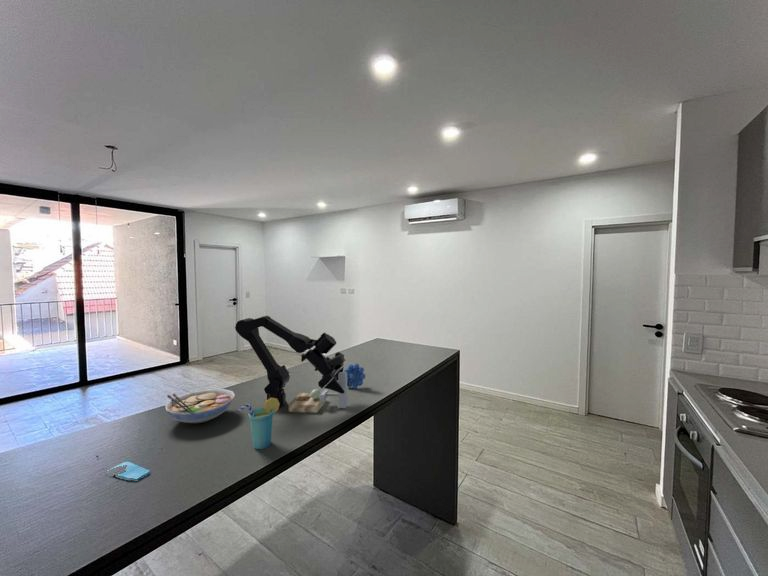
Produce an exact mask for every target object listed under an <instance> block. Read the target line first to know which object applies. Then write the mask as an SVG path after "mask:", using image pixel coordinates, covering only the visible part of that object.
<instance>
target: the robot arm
mask: <svg viewBox="0 0 768 576" xmlns="http://www.w3.org/2000/svg"><path fill="white" fill-rule="evenodd" d="M262 327H263V328H264V329H266V330H267V331H269V332H270V333H273V334H274V335H275V336H277V337H279V338H280V339H282V340H284V341H285V342H286V343H287V344H288V345H289V347H290V348H291V349H292V350H294V351H295V352H296V353H298V354H301V355H300V357H301V359H300V361H301V362H302V363H303V362H304V361H306V360H307V361H308V362H309V363H310V364H311V365H312V366H313V368H314V371H315V372H317V371H318V372H319V374H321V379H320V380H319V381H318V387H319V388H320V390H321V389H326V390H331V391H334V392H335V393H338V392H339V393H342V394H343V393H344V392H345V391H344V390H343V388H342V387H341V386H340V385H339V383H338V374H339V373H340V372H344V365H345V364H344V362H345V361H346V359H345V354H343V353H341V352H340V351H338V352H336V353H335V354H334V356H333V357H331V358H330V357H329V356H327V357H326V356H325V355H327V354H328V353H329V352H330V351H331V350H332V349H333V348H334V347H335V346H336V345H337V340H336V339H335V338H334V337H333V336H331V335H330V334H328V333H327V332H323V333H322V334H321V335H320V336H319V337H318V338H317V339H312V338H310V337H309V336H307V335H304V334H302V333H297V332H295V331H292V330H291V329H289V328H288V327H286V326H284V325H283V324H281V323H280V322H278V321H276V320H275V319H273V318H271V317H270V316H269V315H263V316H260V317H257V318H252V317H248V318H247V317H246V318H243V319H239V320H238V321H237V322H236V323H235V326H234V329H235V331H236V333H237V334H238V335H239V336H240V337H241V338H242V339H244V340H246V341H247V342H248V343H249V345H250V347H251V349H252V350H253V351H254V353H255V355H256V356H257V357H258V359H259V361H260V363H261V364H262V366H263V367H264V369H265V370H266V376H267V380H268V383H267V385H266V386H265V387H263V390H264V392H265V394H266V401H267V400H268V399H270V398H276V399H278V401H279V403H280V405H279V408H278V409H280V408H282V406H284V405H285V404H286V402H287V400H286V392H285V387H286V384H287V383H288V382H290V378H291V376H290V371H288V370H287V367H286V365H285V364H283V365H279V364H278V363H277V361H276V359H275V358H274V356H273V355H272V353H271V352H270V350H269V349H268V347H267V345H266V344H265V342H264V340H263V339H262V337H261V336H260V331H259V328H262ZM312 348H313V349H312ZM304 352H305V353H304ZM324 354H325V355H324ZM348 385H349V382H348V381H347V386H348Z"/></svg>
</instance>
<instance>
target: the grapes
mask: <svg viewBox="0 0 768 576" xmlns="http://www.w3.org/2000/svg"><path fill="white" fill-rule="evenodd" d="M364 371H365V370H364V367H363V366H360V365H359V364H358V363H354V364H349V365H348V366H347V369H345V370H343V372H347V381H348V382H349V385H348V386H347V388H352V389H354V390H355V389H357V388H358V387H361V386H362V385H363V384H364V379H366V374H365V373H364Z"/></svg>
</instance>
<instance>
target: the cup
mask: <svg viewBox="0 0 768 576" xmlns="http://www.w3.org/2000/svg"><path fill="white" fill-rule="evenodd" d="M279 405H280V403H279V401H278V399H276V398H270V399H268V400H267V399H266V401H265V402H264V406H263V407H259V408H255V409H253V408H252V406H251V404H249V403H245V404H244V405H242V406H241V407H239V408H237V409H236V411H237V412H240V411H242V410H244V409H246V408H248V411H249V412H248V414H247V415H248V418H249V423H250V430H251V431H250V432H251V439H252V447H253V449H255V450H263V449H267V448H269V446H270V445H271V444H272V431H273V417H274V415H275V413H276V412H277V411H279V409H280V408H279Z"/></svg>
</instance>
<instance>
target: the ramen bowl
mask: <svg viewBox="0 0 768 576" xmlns="http://www.w3.org/2000/svg"><path fill="white" fill-rule="evenodd" d="M166 396H167V398H168V399H170V401H168V402H167V403H166V404H165V405H164V406H165V411H166V412H167V414H168V415H169V416H170V417H171V418H173V419H175V420H176V421H179V422H181V423H189V424H202V423H206V422H209V421H211V420H212V419H215V418H218V417H219V416H220V415H222V414H223V413H224V412H226V411H227V409H228V408H229V407H230V406H231V404H232V402H233V400H234V398H235V396H236V394H235V392H234V391H233V390H229V389H223V388H212V389H210V388H209V389H203V390H197V391H193V392H188V393H185V394H182V395H179V396H178V395H176V393H172V396H171V395H170V394H167V395H166Z"/></svg>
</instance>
